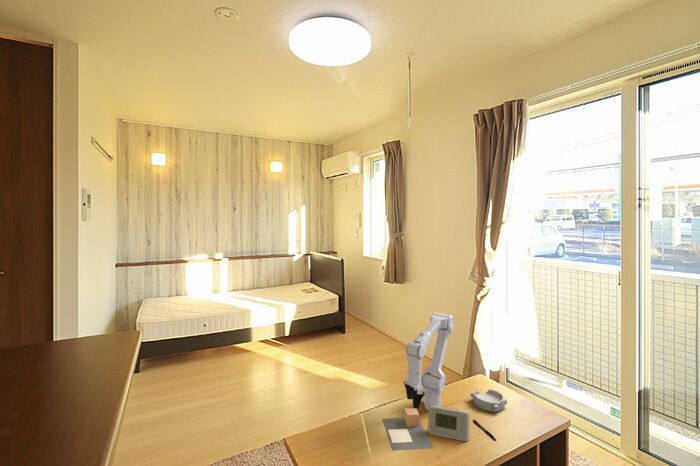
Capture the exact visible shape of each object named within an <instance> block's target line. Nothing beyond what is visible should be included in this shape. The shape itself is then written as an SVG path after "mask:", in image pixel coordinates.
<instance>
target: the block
mask: <svg viewBox="0 0 700 466" xmlns="http://www.w3.org/2000/svg"><path fill="white" fill-rule="evenodd" d="M419 413H420V412H419V411H418V410H417V409H414V408H413V407H409V408H408V407H407V408H405V407H404V417H403V418H404V420H405V422H406V424H407V427H414V426H419V420H420V414H419Z"/></svg>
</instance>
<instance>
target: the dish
mask: <svg viewBox="0 0 700 466" xmlns="http://www.w3.org/2000/svg"><path fill="white" fill-rule="evenodd" d="M469 392H470V397H472V401H473V404H474V405H475V406H476V407H477V408H479V409H481V410H483V411H487V412H490V413H491V412H493V413H498V412H501V411H503V410H504V409H505V407H506V405H508V399H507V398H505V396H504V395H503V394H502V393H501V392H499V391H497V390H495V389H492V388H490V389H488V390H487V391H486V392H484V393H481V392H479V391H478V390H477V389H475V390H473V391H469Z"/></svg>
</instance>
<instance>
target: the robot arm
mask: <svg viewBox="0 0 700 466" xmlns="http://www.w3.org/2000/svg"><path fill="white" fill-rule="evenodd" d="M429 319H430V320H429V321H430V322H429V323H428V325H427V326H426V328H425V330H422V331H420V333H419V334H418V335H417V337H415V339H414V340H413V341H410V342H408V343H407V345H406V349H405V353H406V357H407V360H408V361H407V362H408V363H407V374H406V375H405V379H406V380H404V381H403V385H404V387H405V394H406V398H407V400H412V408H414V409H420V405H421V402H422V403H423V405H424V408H425V410H426V411H429V406H430V405H434V406H441V401H442V392H443V391H444V390H445V388H446V375H445V374H444V372H443V371H442V367H443V362H444V358H445V354H446V350H447V345H448V342H449V341H448V340H449V336H450V335H452V334H453V331H454V327H455V317H454V315H451V314H450V315H449V314H446V313H441V312H437V311H433V313H431V315H430V318H429ZM436 332H437V336H436V342H435V345H434V349H433V354H432V359H431V362H430V366H429V367H426V368H425V369H424V370H423V373H422V367H423V366H422V365H423V358H424V357H425V354H426V351H427V347H428V346H429V344H431V342H432V339H433V338H432V336H434V334H435V333H436ZM422 387H423V388H422Z"/></svg>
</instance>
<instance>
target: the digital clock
mask: <svg viewBox="0 0 700 466" xmlns="http://www.w3.org/2000/svg"><path fill="white" fill-rule="evenodd" d="M427 420H428V422H427V433H428V434H430V435H432V436H437V437H442V438H447V439H452V440H457V441H462V442H470V413H469V411H467V410H463V409H458V408H454V407H447V406H434V405H430V406H429V410H428V417H427Z"/></svg>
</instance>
